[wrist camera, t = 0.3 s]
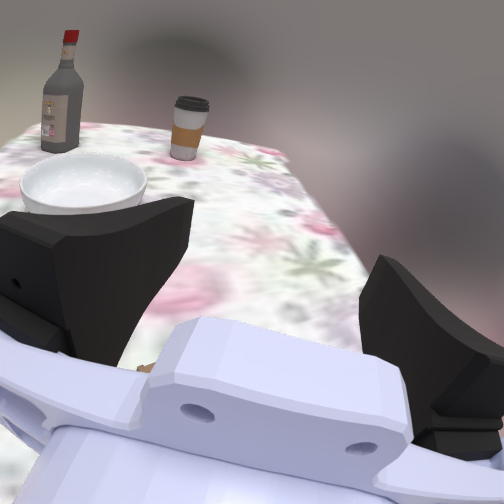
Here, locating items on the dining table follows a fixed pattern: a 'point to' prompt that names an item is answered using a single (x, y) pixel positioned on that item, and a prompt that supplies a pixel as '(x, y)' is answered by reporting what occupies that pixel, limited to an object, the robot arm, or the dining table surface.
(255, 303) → the dining table surface
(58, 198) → the serving bowl
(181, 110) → the coffee cup
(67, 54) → the liquor
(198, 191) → the dining table surface
